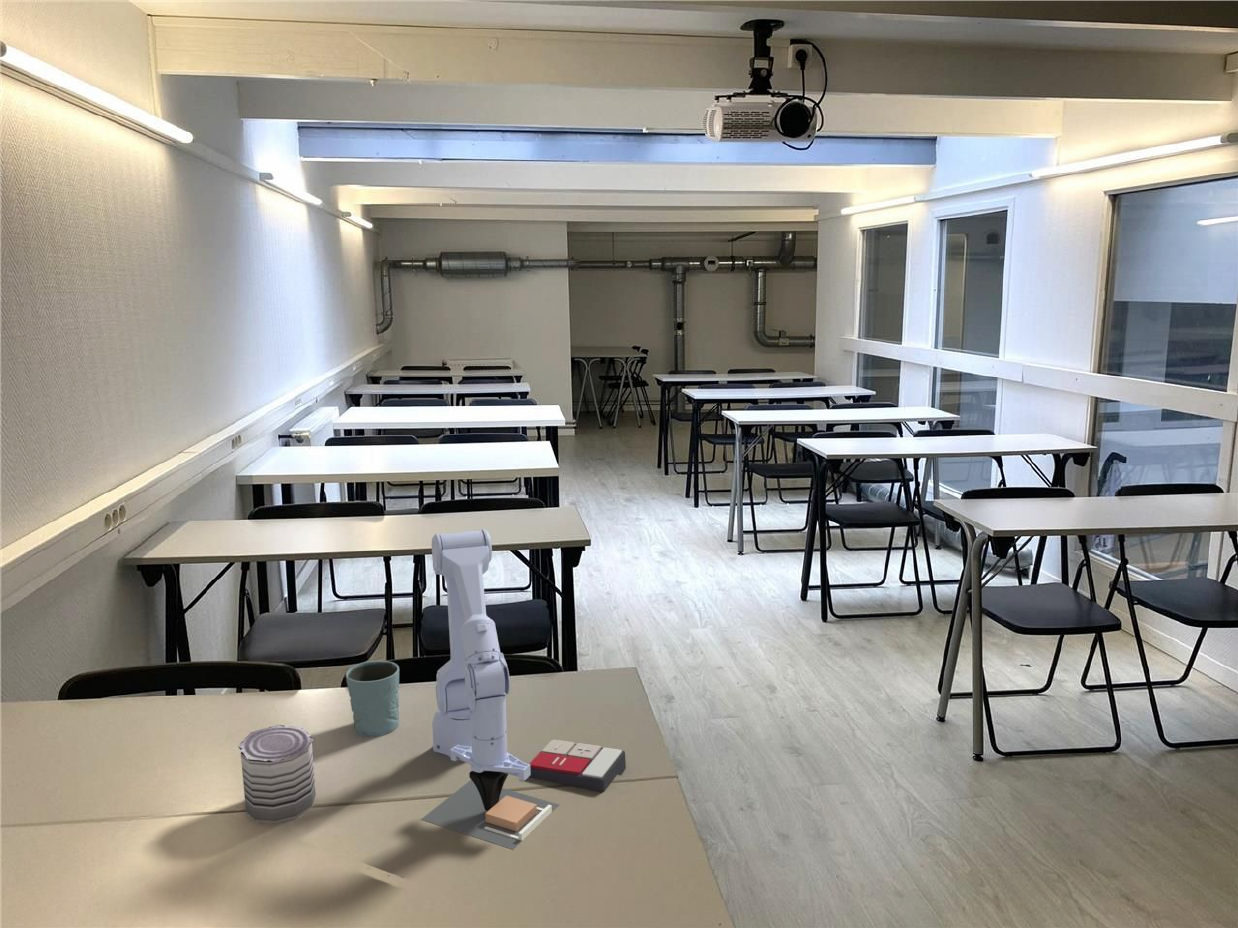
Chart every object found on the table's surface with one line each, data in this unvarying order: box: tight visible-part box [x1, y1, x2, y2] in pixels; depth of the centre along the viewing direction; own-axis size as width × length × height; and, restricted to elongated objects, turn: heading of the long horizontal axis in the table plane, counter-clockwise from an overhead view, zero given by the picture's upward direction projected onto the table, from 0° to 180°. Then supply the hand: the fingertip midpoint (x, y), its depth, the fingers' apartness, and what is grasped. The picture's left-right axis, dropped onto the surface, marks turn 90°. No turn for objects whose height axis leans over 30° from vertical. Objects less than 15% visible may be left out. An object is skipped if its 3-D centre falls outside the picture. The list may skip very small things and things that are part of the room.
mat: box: [420, 779, 560, 850], centre depth 154 cm, size 18×14×2 cm
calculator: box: [528, 739, 627, 793], centre depth 167 cm, size 11×4×15 cm
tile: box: [485, 796, 537, 832], centre depth 152 cm, size 2×6×6 cm
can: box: [237, 724, 317, 825], centre depth 157 cm, size 11×11×12 cm
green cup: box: [345, 660, 400, 738], centre depth 184 cm, size 10×10×12 cm
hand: (491, 808), depth 154 cm, fingers closed
